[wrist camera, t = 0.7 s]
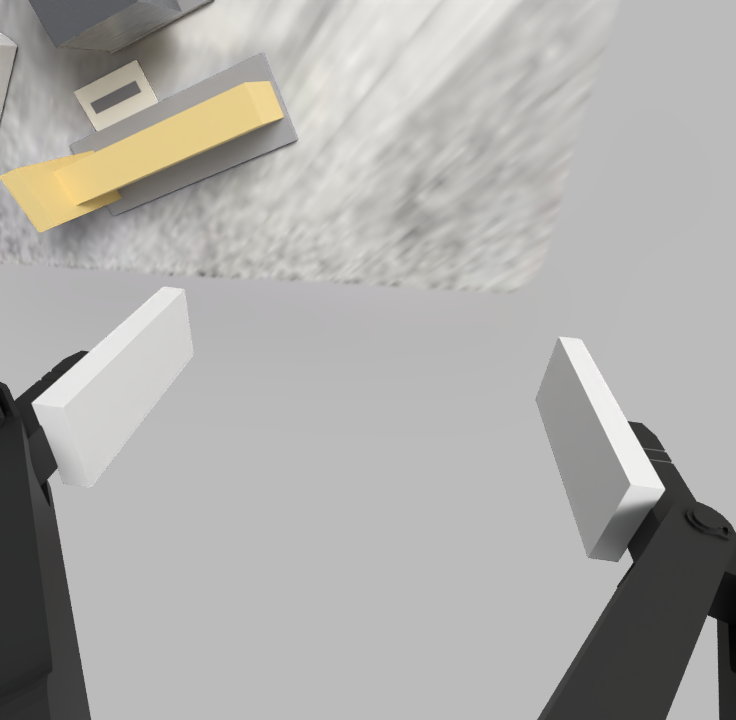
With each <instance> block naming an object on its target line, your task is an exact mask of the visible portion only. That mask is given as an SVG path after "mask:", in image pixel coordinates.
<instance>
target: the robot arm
mask: <svg viewBox="0 0 736 720" xmlns="http://www.w3.org/2000/svg"><path fill="white" fill-rule="evenodd" d="M193 355H194V353H193V346H192V339H191V332H190V325H189V318H188V310H187V304H186V297H185V290H184V289H179V288H170V287H162V288H161V289H160V290H159V291H158V292H157V293H156V294H154V295H153V296H152V297H151V298H150V299H149V300H148V301H146V302H145V303H144V304H143V305H142V306H141V307H140V308H139V309H137V310H136V311H135V312H134V313H133V314H132V315H131V316H129V317H128V318H127V319H126V320H125V321H124V322H123V323H122V324H121V325H119V326H118V327H117V328H116V329H115V330H114V331H113V332H111V333H110V334H109V335H108V336H107V337H106V338H105V339H103V340H102V341H101V342H100V343H99V344H98V345H97V346H96V347H95V348H93V349H92V350H91V351H90V352H88V351H80V352H78V353H76V354H74V355H72V356H69V357H67V358H65V359H64V360H62V362H60V363H59V364H58V365H56V366H55V367H54V368H53V369H52V371H51V372H48V373H47V374H46V375H45V376H43V377H42V380H39V381H38V382H36V383H35V384H34V385H33V386H31V387H30V388H29V389H28V390H27V391H26V392H24V393H23V394H22V395H21V396H20V397H18V398H17V399H16V400H15V401H14V399H13V397H12V395H11V393H10V390H9V388H8V387H7V385H6V384H4V383H1V382H0V720H91V717H90V712H89V706H88V699H87V693H86V688H85V682H84V676H83V670H82V665H81V659H80V653H79V647H78V642H77V636H76V630H75V624H74V619H73V613H72V607H71V601H70V595H69V590H68V584H67V578H66V572H65V567H64V561H63V555H62V550H61V544H60V538H59V532H58V526H57V520H56V515H55V509H54V503H53V498H52V492H51V487H50V485H49V483H48V480H47V479H48V478H49V477H50V476H51V475H52V473H53V472H54V471H55V470H56V469H58V471H59V474H60V476H61V479H62V481H63V484H69V485H76V486H83V487H90V488H91V487H92V486H93V485H94V484H95V482H96V481H97V480H98V478H99V477H100V476H101V475H102V473H103V472H104V471H105V469H106V468H107V467H108V465H109V464H110V463H111V461H112V460H113V459H114V458H115V456H116V455H117V454H118V452H119V451H120V450H121V448H122V447H123V446H124V445H125V443H126V442H127V441H128V439H129V438H130V437H131V436H132V434H133V433H134V432H135V430H136V429H137V428H138V426H139V425H140V424H141V423H142V421H143V420H144V418H145V417H146V416H147V415H148V413H149V412H150V411H151V410H152V408H153V407H154V406H155V404H156V403H157V402H158V400H159V399H160V398H161V397H162V395H163V394H164V393H165V391H166V390H167V389H168V387H169V386H170V385H171V383H172V382H173V381H174V379H175V378H176V377H177V376H178V374H179V373H180V372H181V370H182V369H183V368H184V366H185V365H186V364H187V363H188V361H189V360H190V359H191V358H192V356H193ZM536 402H537V405H538V408H539V411H540V414H541V417H542V420H543V423H544V426H545V429H546V432H547V435H548V439H549V442H550V445H551V448H552V451H553V454H554V457H555V460H556V463H557V466H558V469H559V472H560V475H561V478H562V481H563V484H564V487H565V489H566V493H567V496H568V499H569V502H570V505H571V508H572V511H573V514H574V517H575V520H576V523H577V526H578V529H579V532H580V535H581V538H582V541H583V544H584V548H585V550H586V554H587V557H588V558H593V559H600V560H607V561H614V562H618V561H619V559H620V558H621V557H622V555H623V554H624V552H625V551H626V549H627V548H628V550H629V552H630V554H631V557H632V559H633V564H632V565H631V567H630V568H629V570H628V571H627V573H626V574H625V576H624V577H623V579H622V580H621V581H620V583H619V584H618V586H617V587H618V588H617V589H616V591H615V593H614V595H613V596H612V598H611V599H610V601H609V603H608V604H607V606H606V608H605V609H604V611H603V612H602V614H601V616H600V617H599V619H598V621H597V622H596V624H595V626H594V628H593V629H592V631H591V632H590V634H589V635H588V637H587V639H586V640H585V642H584V644H583V645H582V647H581V649H580V650H579V652H578V654H577V655H576V657H575V658H574V660H573V662H572V663H571V665H570V667H569V668H568V670H567V672H566V673H565V675H564V677H563V678H562V680H561V681H560V683H559V685H558V686H557V688H556V690H555V691H554V693H553V695H552V696H551V698H550V700H549V702H548V703H547V705H546V706H545V708H544V709H543V711H542V713H541V714H540V716H539V718H538V719H537V720H666V717H667V715H668V712H669V710H670V707H671V705H672V702H673V699H674V697H675V695H676V692H677V690H678V687H679V685H680V682H681V680H682V677H683V675H684V672H685V670H686V667H687V665H688V662H689V659H690V657H691V655H692V652H693V650H694V647H695V644H696V642H697V640H698V637H699V635H700V632H701V630H702V627H703V624H704V622H705V619H706V617H707V615H708V616H711V617H713V618H716V619H717V638H718V679H719V680H718V681H719V720H736V532H735V531H734V529H733V527H732V525H731V524H730V523H729V522H728V521H727V520H726V519H725V518H724V517H723V515H721V514H720V513H718V512H717V511H715V510H714V509H712V508H711V507H709V506H706V505H704V504H702V503H700V502H697V501H696V500H695V498H694V497H693V495H692V493H691V492H690V490H689V488H688V487H687V485H686V484H685V482H684V480H683V479H682V477H681V476H680V474H679V472H678V471H677V469H676V467H675V466H674V464H672V463H671V459H670V458H669V456H668V454H667V453H666V452H664V451H665V450H664V448H663V446H662V445H661V443H660V441H659V440H658V438H657V437H656V435H654V434H653V433H652V432H651V431H650V430H649V429H648V428H646V427H645V426H644V425H643V424H642V423H636V422H629V421H627V420H626V418H625V416H624V415H623V413H622V411H621V409H620V408H619V406H618V404H617V402H616V400H615V399H614V397H613V395H612V393H611V392H610V390H609V388H608V386H607V384H606V383H605V381H604V379H603V377H602V376H601V374H600V372H599V370H598V368H597V367H596V365H595V363H594V361H593V359H592V358H591V356H590V354H589V352H588V351H587V349H586V347H585V345H584V343H583V342H582V340H581V339H575V338H568V337H560V336H559V337H558V340H557V342H556V345H555V348H554V351H553V353H552V356H551V359H550V361H549V364H548V367H547V370H546V372H545V375H544V378H543V381H542V383H541V386H540V389H539V391H538V394H537V397H536Z"/></svg>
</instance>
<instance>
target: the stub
mask: <svg viewBox="0 0 736 720" xmlns="http://www.w3.org/2000/svg"><path fill="white" fill-rule="evenodd" d="M210 1H212V0H177V2H178V4H179V6H180V8H181V10H182V12H181V13H179V14H178V15H176V16H174V17H172V18H170V19H168V20H166V21H164V22H163V23H161V24H159V25H157V26H155V27H153V28H151V29H150V30H148V31H146V32H144V33H142V34H140V35H138V36H137V37H135V38H133V39H131V40H129V41H127V42H125V43H124V44H122V45H120V46H118V47H116V48H114V49H112V50H110V51H108V52H109V53H115V52H116V51H118V50H120V49H122V48H124V47H126V46H128V45H130V44H131V43H133V42H135V41H137V40H139V39H141V38H143V37H145V36H146V35H148V34H150V33H152V32H154V31H156V30H158V29H160V28H161V27H163V26H165V25H167V24H169V23H171V22H173V21H175V20H176V19H178V18H180V17H182V16H184V15H186V14H188V13H190V12H191V11H193V10H195V9H197V8H199V7H201V6H203V5H205V4H206V3H208V2H210Z"/></svg>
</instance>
